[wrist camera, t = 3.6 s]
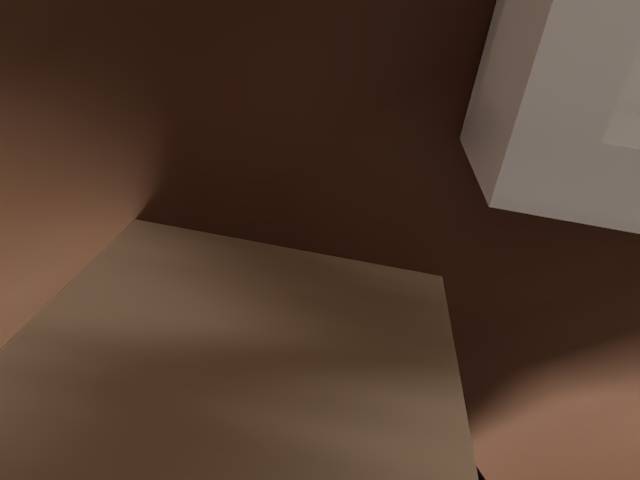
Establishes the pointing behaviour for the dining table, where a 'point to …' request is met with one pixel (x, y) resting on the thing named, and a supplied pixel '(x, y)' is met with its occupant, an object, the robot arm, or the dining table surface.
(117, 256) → the maple block
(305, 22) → the dining table surface
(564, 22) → the tray
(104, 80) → the dining table surface
